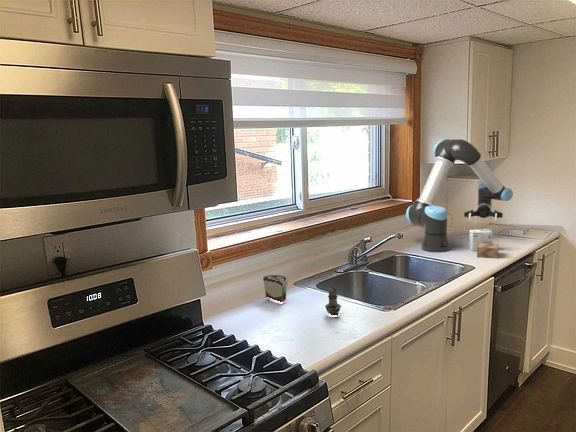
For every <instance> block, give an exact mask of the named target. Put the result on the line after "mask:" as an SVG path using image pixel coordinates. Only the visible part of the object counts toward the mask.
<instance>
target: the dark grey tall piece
mask: <svg viewBox="0 0 576 432" xmlns="http://www.w3.org/2000/svg"><path fill="white" fill-rule="evenodd" d="M337 294H338V293H337V288H336V287H335V286H334V284H331V286H330V287H329V288H328V296H327V298H328V303H327V304H325V305H324V306H325V309H326V312H327V313H330V314H331V315H337V316H338V314H340V313H339V312H340V311H341V307H342V305H341V304H339V303H338V298H339V297H338V295H337Z"/></svg>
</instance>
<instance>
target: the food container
mask: <svg viewBox="0 0 576 432" xmlns="http://www.w3.org/2000/svg"><path fill="white" fill-rule="evenodd" d="M262 282H263V283H264V291H265V293H264V294H265V298H266V297H269V298H272V299H274V300H277V301H280V302H284V301H285V300H286V301H287V287H288V285H289V281H288V278H287V276H285V275H281V274H268V275H263V277H262Z"/></svg>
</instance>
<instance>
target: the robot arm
mask: <svg viewBox="0 0 576 432" xmlns="http://www.w3.org/2000/svg"><path fill="white" fill-rule="evenodd" d="M433 155H434V157H433V160H434V164H433V165H432V168H431V171H430V173H429V174H428V178H427V180H426V182H425V184H424V187H423V188H422V191H421V193H420V196H419V198H417V199H416V200H415V201H414V202H413V204H411V205H410V206H408V207H407V209H406V212H405V217H406V221H407V222H408V223H409V224H410V225H413V226H415V227H420V228H424V236H423V239H422V242H421V250H423V251H425V252H430V253H431V252H432V253H441V252H442V253H443V252H447V251H450V249H451V245H450V241H449V239H448V236H447V235H448V234H447V231H448V211H447V209H446V208H444V207H442V206H439V205H437V206H436V205H434V203H435V201H436V198H437V196H438V195H439V192H440V189H441V187H442V186H443V183H444V181H445V178H446V176H447V174H448V171H449V169H450V167H453V166H454V164H455V162H456V161H461V162H463V163H464V164H465V165H466V166H467V167H470V168H471V170H472V171H473V172H474V174H475V175H476V176H477V177H478V178H479V179H480V180H481V182H480V183H479V184H478V189H477V190H478V191H477V192H478V193H477V198H478V200H477V209H476V210H474V209H470V210H469V211H464V212H463V213H464V216H463V217H465V218H467V219H468V220H469V221H470V220H471V218H472V217H479V218H483V219H486V218H489V217H492V218H494V220H495V221H497V219H499V218H501V219H502V218H503V214H504V213H503V212H500V211H497V210H496V209H495V210H493V211H492V200H496V201H503V202H509V201H511V199H512V198H513V195H514V192H513V190H512V188H509V187H505V186H504V184H503V183H502V182H501V181H500V179H499V178H498V177H497V175H496V174H495V173H494V172H493V171H492V169H491V168H490V167H489V165H488V164H487V163H486V162H485V160H484V159H483V158H482V154H481V152H480V151H479V150H478V149H477V148H476V147H475V146H474V145H473V144H472V143H470V142H469V141H467V140H465V139H455V138H454V139H450V138H445V139H441V140H439V141H438V142H437V143H436V144H435V145H434V147H433Z"/></svg>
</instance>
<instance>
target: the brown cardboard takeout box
mask: <svg viewBox="0 0 576 432" xmlns="http://www.w3.org/2000/svg"><path fill="white" fill-rule="evenodd" d="M476 258H486V259H487V258H488V259H498V258H499V244H498V243H492V244H488V243H478V246H477V251H476Z"/></svg>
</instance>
